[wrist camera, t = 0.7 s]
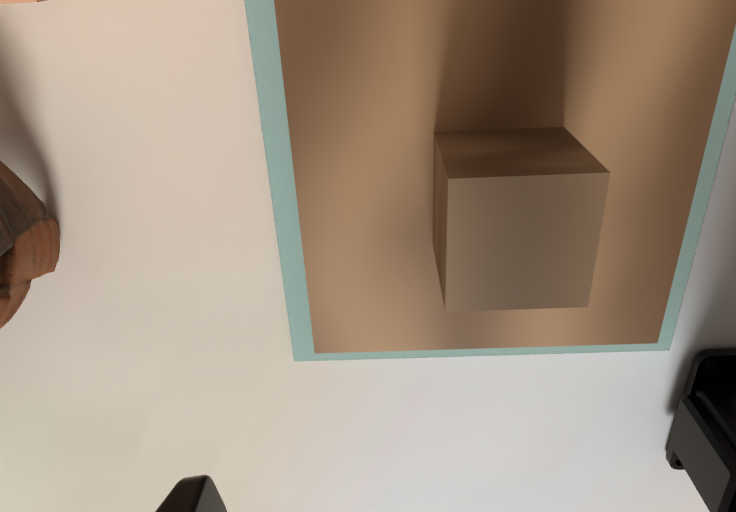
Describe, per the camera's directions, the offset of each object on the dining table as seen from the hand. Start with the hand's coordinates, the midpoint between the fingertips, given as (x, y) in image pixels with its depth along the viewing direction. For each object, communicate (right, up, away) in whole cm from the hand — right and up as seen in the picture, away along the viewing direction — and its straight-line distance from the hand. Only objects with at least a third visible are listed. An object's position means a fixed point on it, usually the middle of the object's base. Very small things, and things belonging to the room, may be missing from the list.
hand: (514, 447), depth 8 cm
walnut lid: (+2, +5, +11) cm, 12 cm away
